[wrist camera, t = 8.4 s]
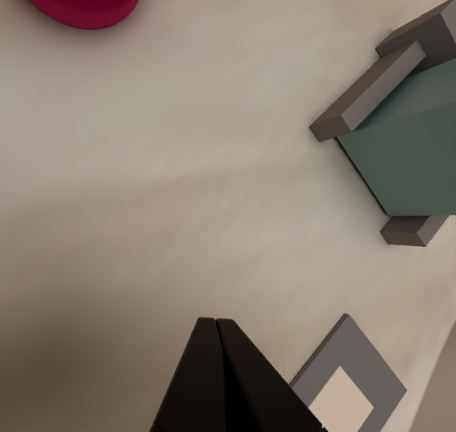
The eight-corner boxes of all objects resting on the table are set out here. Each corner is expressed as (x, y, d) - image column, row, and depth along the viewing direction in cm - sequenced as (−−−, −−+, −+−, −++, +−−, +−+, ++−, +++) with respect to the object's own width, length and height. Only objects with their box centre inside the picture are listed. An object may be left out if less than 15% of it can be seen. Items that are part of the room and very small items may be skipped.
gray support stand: (394, 252, 27) (461, 258, 23) (302, 116, 24) (358, 92, 20) (466, 160, 31) (536, 150, 26) (393, 30, 28) (460, -7, 23)
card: (319, 512, 25) (324, 518, 24) (246, 439, 22) (250, 443, 22) (402, 388, 28) (408, 390, 27) (345, 313, 26) (350, 315, 25)
